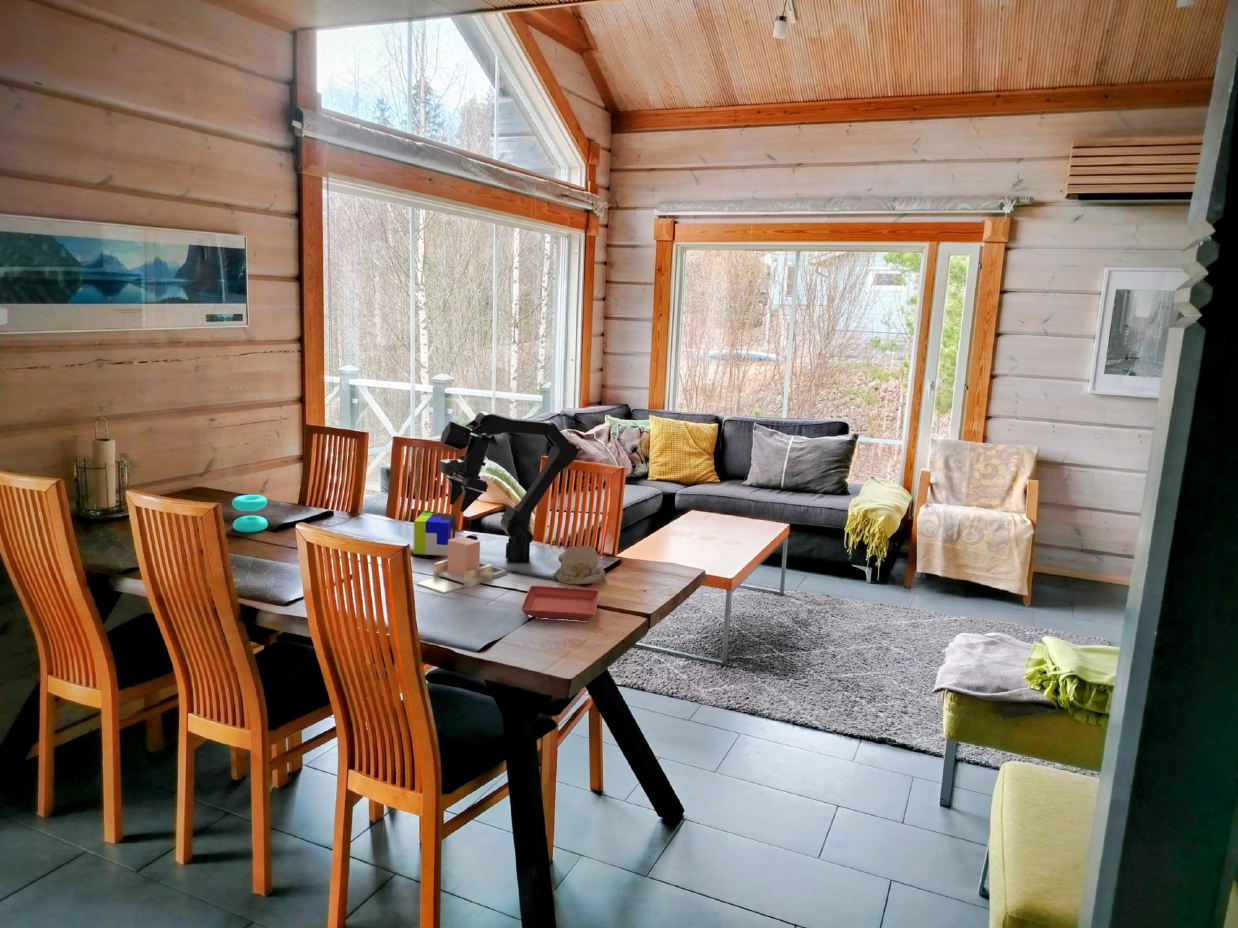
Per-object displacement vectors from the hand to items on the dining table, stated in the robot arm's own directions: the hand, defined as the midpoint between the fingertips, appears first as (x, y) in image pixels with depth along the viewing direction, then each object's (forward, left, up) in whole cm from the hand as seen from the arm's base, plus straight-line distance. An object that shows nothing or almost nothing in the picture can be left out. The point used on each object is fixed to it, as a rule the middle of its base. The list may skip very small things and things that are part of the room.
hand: (456, 507), depth 243 cm
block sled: (-3, +10, -16) cm, 19 cm away
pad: (+2, +17, -17) cm, 24 cm away
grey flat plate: (-8, +4, -17) cm, 19 cm away
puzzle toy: (+7, -15, -17) cm, 24 cm away
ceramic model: (-35, +8, -17) cm, 39 cm away
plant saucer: (-29, +33, -18) cm, 47 cm away
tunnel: (-3, +10, -17) cm, 20 cm away
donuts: (+65, -32, -17) cm, 75 cm away
